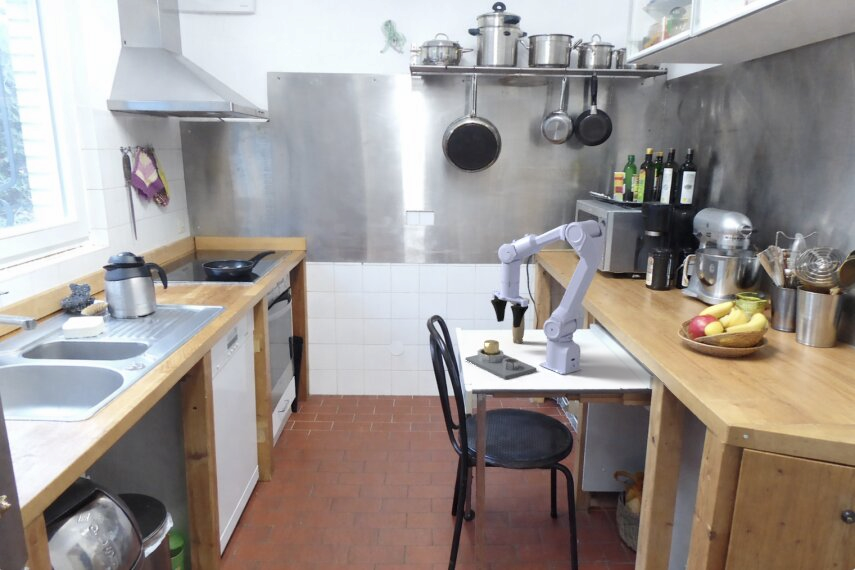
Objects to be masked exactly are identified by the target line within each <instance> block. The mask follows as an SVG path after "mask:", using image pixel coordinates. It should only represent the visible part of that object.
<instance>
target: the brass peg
mask: <svg viewBox="0 0 855 570" xmlns="http://www.w3.org/2000/svg"><path fill="white" fill-rule="evenodd" d="M499 347H500V342H499V341H498V340H494V339H486V340H485V341H484V344H483V348H484V355H498V354H499V350H500V348H499Z"/></svg>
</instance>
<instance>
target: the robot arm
mask: <svg viewBox="0 0 855 570" xmlns="http://www.w3.org/2000/svg"><path fill="white" fill-rule="evenodd" d="M604 236H605V233H604V231H603V229H602V227H601V224H600V223H599V222H598V221H597V220H594V219H589V220H585V221H573V222H570V223H566V224H562V225H560V226H557V227H556V228H553V229H551V230H549V231H546V232H545V233H542V234H539V235H537V234H534V233H525V234H524V237H522V238H519V239H513V240H512V242H511V243H503V244H502V245H501V246H499V248H498V253H497V256H498V259H499V260H500V262H501V266H500V267H501V269H500V271H501V272H500V275H501V276H500V291H499V290H494V291H491V298H493V299H491V300H490V303H491V304H492V307H493V308H494V312H495V316H496V321H497V322H498V323H501V322H504V321H505V316H506V315H505V314H506V308H507V305H508V303H510V302H511V303H515V304H516V305H513V304H512V305H510V309H511V310H510V311H511V312H512V313H511V314H512V327H513V326H514V328H517V327H520V324H521V321H522V318H523V316H524V317H525V314H526V312H527V310H528V309H529V304H528V300H527V299H524V298H525V297H522V296H520V279H521V266H522V260H524V258H527V257H531V256H533V255H535V254H537V253H540V252H541V251H542V248H543V247H545V246H547V245H549V244H553V243H555V242H559V241H561V240H562V241H563V242H566V241H567V242H568V244H569V245H570V246H571V247H572V248H573V249H574V250H575V252H576V253H577V254H578V256H579V261H578V263H577V265H576V267H575V270H574V272H573V275H572V276H571V279H570V281H569V283H568V285H567V287H566V289H565V293H564V294H563V296H562V299H561V301H560V303H559V305H558V306H557V308H556V309H554V310H553V312H552V313H551V315H550V317H549V318H548V319H546V320H545V321H544V323H543V327H542V329H543V333H544V335H545V337H546V341H547V342H546V352H545V354H546V356H545V361H544V362H541V363H539V364H538V365H539V366H541V367H543V368H545V369H548V370H551V371H552V372H555V373H557V374H559V375H560V374H561V375H567V374H570V373H573V372H576V371H581V370H582V367H580V365H581V363H580V361H581V346H580V345H579V344H578V343H576V341H574V333H575V332H576V331H577V330H578V326H579V323H578V322H579V319H580V314H579V312H578V311H579V310H580V307H581V306H582V303H583V301H584V298H585V296H586V294H587V292H588V290H589V288H590V286H591V284H592V283H593V282H592V281H593V280H594V277H595V275H596V273H597V271H598V269H599V267H600V264H601V263H602V261H603V239H604ZM511 303H510V304H511Z"/></svg>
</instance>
